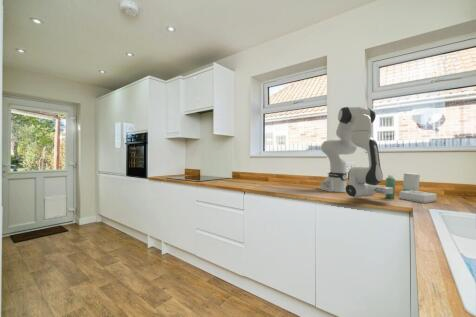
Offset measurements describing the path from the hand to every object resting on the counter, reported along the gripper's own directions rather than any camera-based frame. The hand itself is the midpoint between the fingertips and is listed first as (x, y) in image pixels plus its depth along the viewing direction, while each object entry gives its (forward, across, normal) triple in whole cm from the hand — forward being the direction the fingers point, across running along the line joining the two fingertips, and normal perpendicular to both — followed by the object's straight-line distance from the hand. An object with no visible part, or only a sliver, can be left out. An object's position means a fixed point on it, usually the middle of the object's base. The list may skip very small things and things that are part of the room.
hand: (382, 187), depth 146 cm
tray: (+21, -10, +7) cm, 24 cm away
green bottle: (+9, 0, +8) cm, 11 cm away
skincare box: (+34, +1, +8) cm, 35 cm away
